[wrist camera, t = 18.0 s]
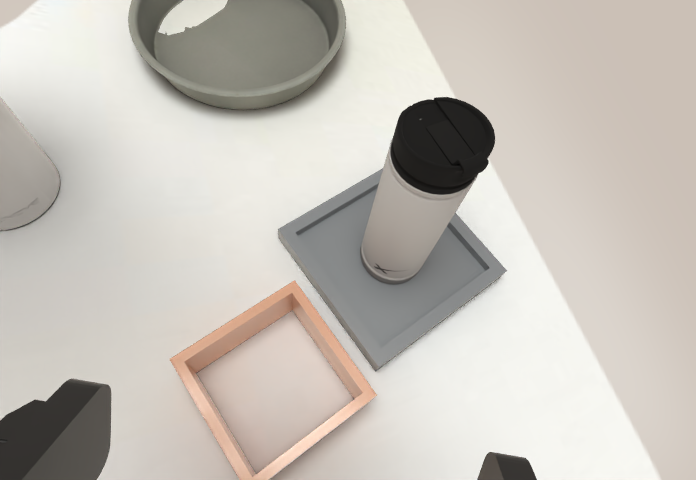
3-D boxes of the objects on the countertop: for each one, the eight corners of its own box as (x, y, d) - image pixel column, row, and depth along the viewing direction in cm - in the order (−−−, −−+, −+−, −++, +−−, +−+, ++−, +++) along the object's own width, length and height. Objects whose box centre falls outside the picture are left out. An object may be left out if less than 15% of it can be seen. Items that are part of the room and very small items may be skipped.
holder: (182, 370, 42) (169, 359, 37) (294, 298, 46) (294, 280, 41) (253, 491, 38) (248, 494, 34) (368, 403, 42) (376, 395, 38)
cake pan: (358, -2, 65) (363, -33, 61) (319, 142, 54) (321, 116, 50) (180, -41, 65) (173, -75, 61) (105, 95, 54) (89, 65, 50)
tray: (278, 238, 48) (278, 229, 46) (400, 166, 53) (404, 155, 52) (375, 371, 43) (378, 367, 42) (499, 278, 49) (506, 270, 47)
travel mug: (379, 298, 45) (433, 185, 27) (349, 240, 48) (380, 101, 30) (435, 273, 47) (521, 151, 29) (403, 218, 49) (464, 74, 31)
